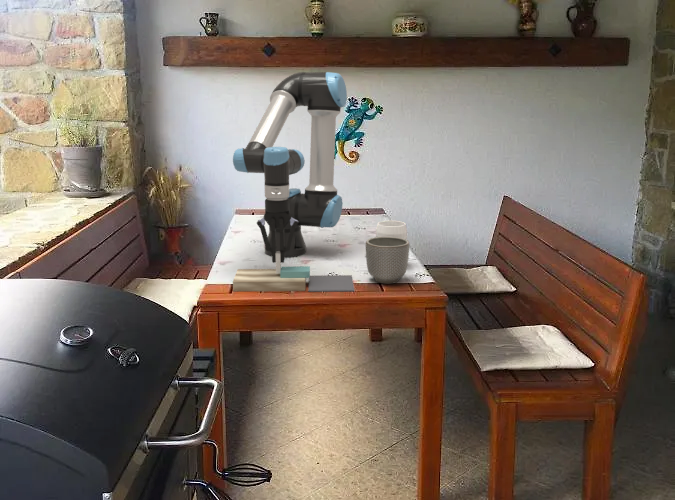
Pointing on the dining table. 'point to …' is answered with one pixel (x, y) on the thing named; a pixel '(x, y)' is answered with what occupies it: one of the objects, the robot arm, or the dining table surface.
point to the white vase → (391, 229)
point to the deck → (265, 281)
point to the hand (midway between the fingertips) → (278, 272)
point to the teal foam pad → (295, 272)
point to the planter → (387, 258)
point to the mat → (331, 283)
